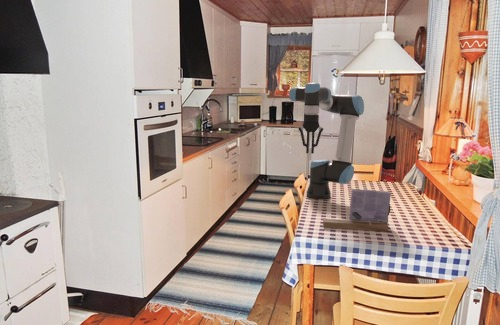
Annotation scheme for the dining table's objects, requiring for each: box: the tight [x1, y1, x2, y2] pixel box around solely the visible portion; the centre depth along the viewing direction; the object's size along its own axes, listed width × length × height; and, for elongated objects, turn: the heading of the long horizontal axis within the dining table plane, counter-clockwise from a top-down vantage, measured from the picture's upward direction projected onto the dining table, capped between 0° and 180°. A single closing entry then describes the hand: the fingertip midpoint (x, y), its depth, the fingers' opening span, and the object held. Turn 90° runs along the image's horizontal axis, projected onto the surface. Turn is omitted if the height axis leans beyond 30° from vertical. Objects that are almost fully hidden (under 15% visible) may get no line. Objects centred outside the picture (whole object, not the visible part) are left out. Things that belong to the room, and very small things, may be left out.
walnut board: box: [322, 218, 389, 233], centre depth 182 cm, size 5×30×3 cm, turn 80°
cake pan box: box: [348, 188, 392, 226], centre depth 185 cm, size 19×5×18 cm, turn 80°
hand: (309, 159), depth 194 cm, fingers closed
